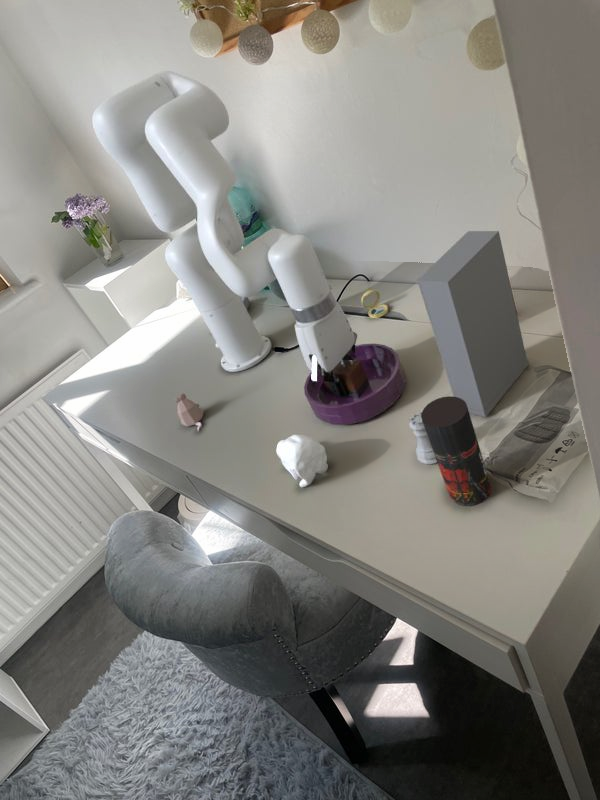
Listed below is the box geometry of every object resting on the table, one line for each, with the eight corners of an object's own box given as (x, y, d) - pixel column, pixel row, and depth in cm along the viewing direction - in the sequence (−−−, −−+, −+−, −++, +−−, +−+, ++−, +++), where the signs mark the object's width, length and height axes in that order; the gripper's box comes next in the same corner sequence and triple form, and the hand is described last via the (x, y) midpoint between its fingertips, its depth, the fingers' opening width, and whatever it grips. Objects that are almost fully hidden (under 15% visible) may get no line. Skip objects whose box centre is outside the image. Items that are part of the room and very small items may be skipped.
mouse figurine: (188, 437, 126) (172, 413, 122) (180, 419, 132) (165, 396, 129) (210, 425, 126) (194, 400, 123) (201, 407, 133) (187, 384, 129)
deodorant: (443, 483, 90) (416, 406, 82) (482, 469, 89) (459, 390, 81) (456, 511, 85) (428, 433, 77) (497, 497, 84) (473, 416, 76)
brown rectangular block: (329, 393, 117) (318, 371, 114) (340, 380, 119) (330, 358, 116) (358, 397, 112) (349, 374, 109) (369, 384, 115) (360, 360, 112)
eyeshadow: (374, 320, 133) (367, 301, 131) (364, 313, 138) (357, 294, 135) (391, 310, 134) (385, 291, 131) (381, 303, 138) (374, 285, 135)
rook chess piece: (440, 467, 92) (426, 429, 88) (413, 464, 95) (398, 426, 91) (450, 446, 95) (437, 408, 91) (423, 444, 98) (410, 406, 93)
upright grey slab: (496, 359, 107) (464, 230, 93) (529, 365, 103) (500, 230, 89) (453, 410, 101) (411, 280, 88) (486, 418, 97) (447, 283, 83)
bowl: (295, 416, 117) (285, 396, 114) (351, 358, 125) (343, 338, 123) (368, 437, 104) (358, 415, 101) (425, 371, 112) (418, 349, 110)
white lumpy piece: (287, 457, 94) (254, 434, 104) (310, 496, 98) (276, 471, 108) (319, 432, 96) (282, 413, 106) (340, 472, 100) (303, 449, 110)
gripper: (322, 279, 112) (354, 358, 122) (269, 334, 104) (309, 414, 114) (355, 279, 108) (386, 361, 118) (303, 336, 99) (341, 419, 109)
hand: (347, 386), depth 116 cm, fingers closed on brown rectangular block, 4 cm apart
